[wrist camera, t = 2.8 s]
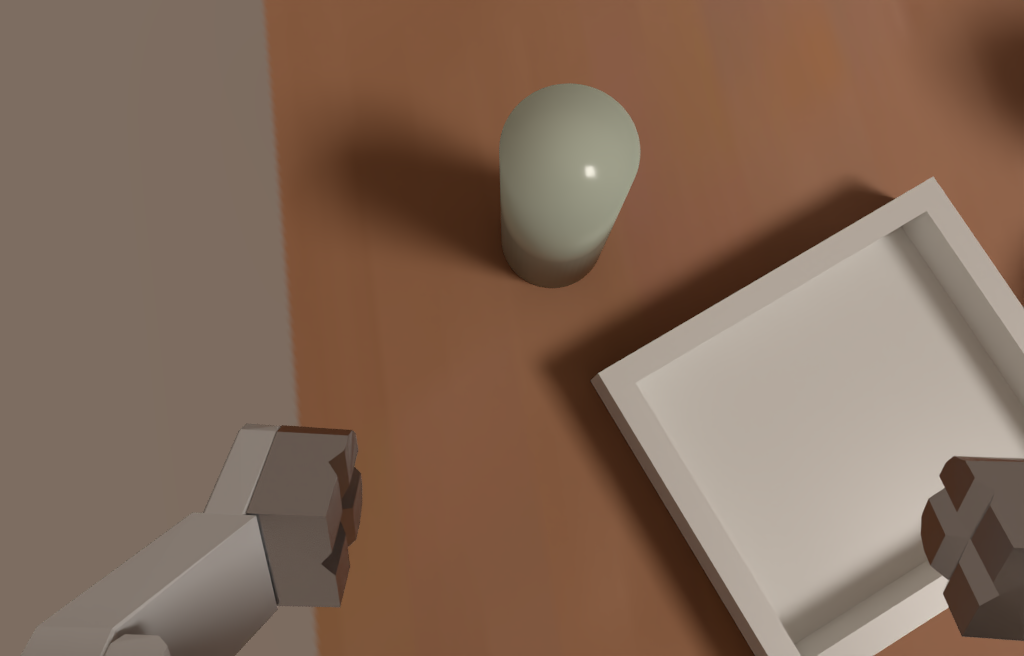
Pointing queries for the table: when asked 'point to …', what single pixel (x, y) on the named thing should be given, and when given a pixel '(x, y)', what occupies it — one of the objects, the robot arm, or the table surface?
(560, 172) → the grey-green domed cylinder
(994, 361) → the tray
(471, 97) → the table surface
